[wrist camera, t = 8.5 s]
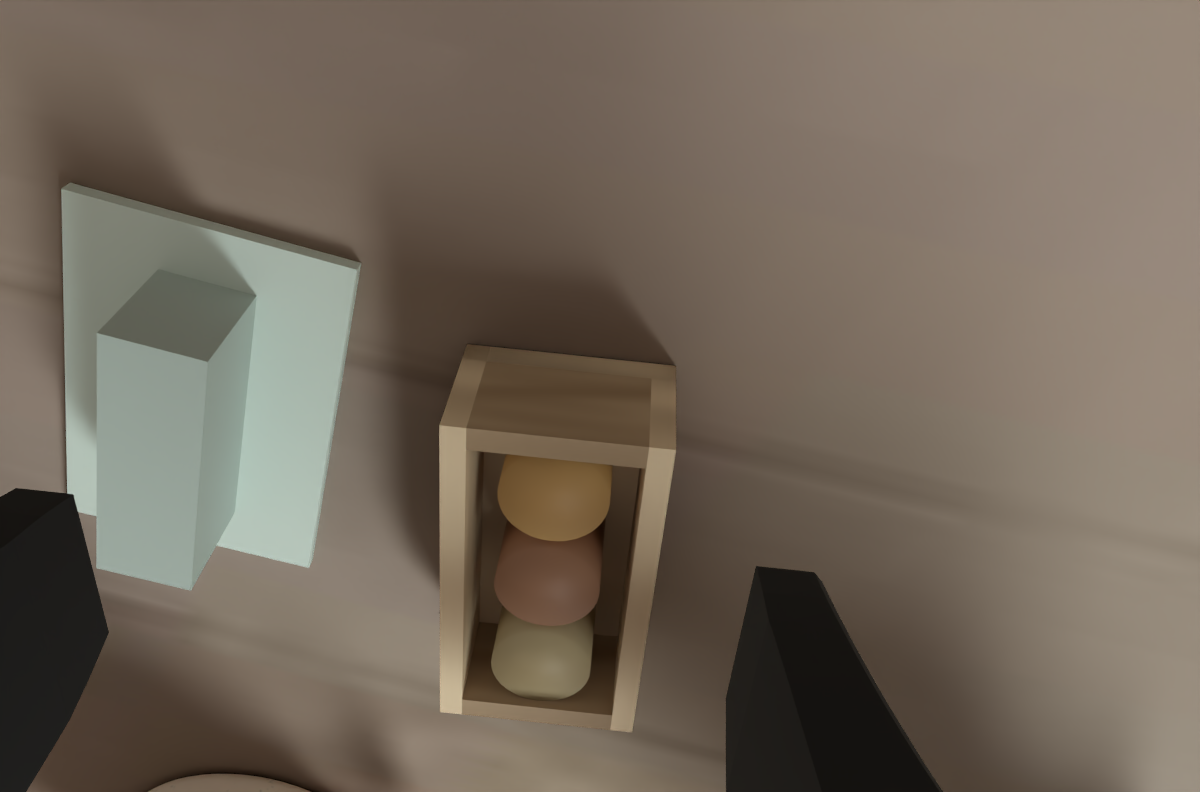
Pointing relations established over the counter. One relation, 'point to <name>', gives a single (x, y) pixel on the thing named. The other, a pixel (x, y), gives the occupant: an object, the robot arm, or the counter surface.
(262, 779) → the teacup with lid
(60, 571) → the robot arm
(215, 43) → the counter surface
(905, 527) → the counter surface
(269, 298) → the lid
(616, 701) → the box
